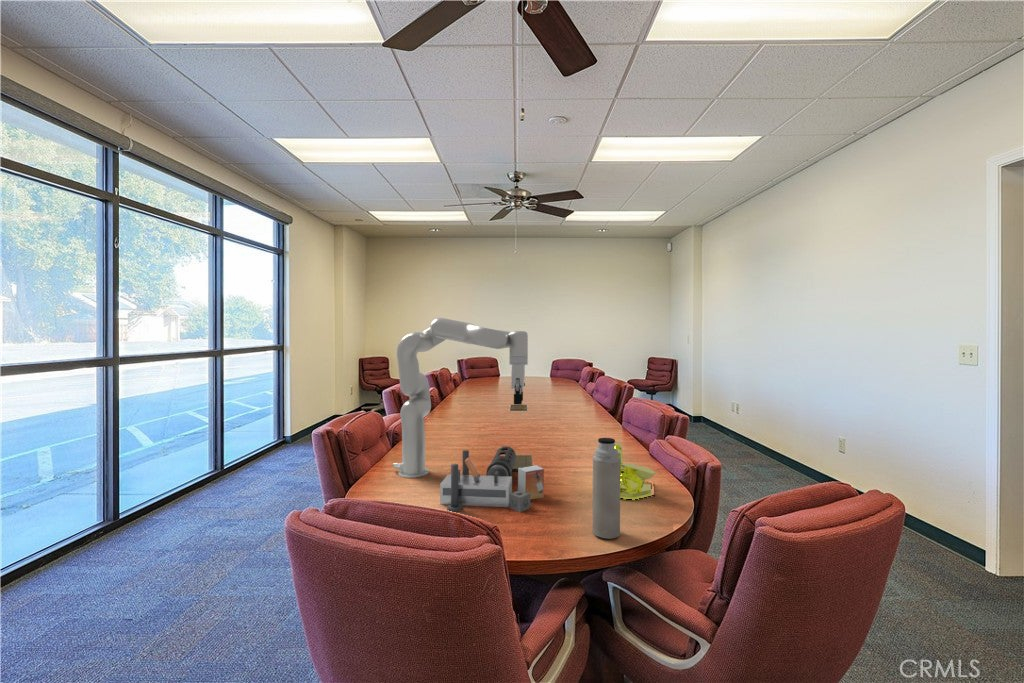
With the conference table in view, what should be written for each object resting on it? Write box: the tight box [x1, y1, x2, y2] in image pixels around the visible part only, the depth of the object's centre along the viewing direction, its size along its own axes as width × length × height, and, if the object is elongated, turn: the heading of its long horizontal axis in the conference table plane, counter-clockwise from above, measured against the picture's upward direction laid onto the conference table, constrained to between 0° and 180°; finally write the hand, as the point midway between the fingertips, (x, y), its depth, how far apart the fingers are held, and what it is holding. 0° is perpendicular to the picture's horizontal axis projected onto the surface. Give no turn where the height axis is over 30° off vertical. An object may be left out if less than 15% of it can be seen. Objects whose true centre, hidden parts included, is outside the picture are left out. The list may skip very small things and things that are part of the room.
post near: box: [446, 463, 463, 513], centre depth 148 cm, size 5×5×15 cm
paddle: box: [465, 457, 481, 482], centre depth 157 cm, size 2×4×8 cm, turn 174°
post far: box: [462, 449, 470, 475], centre depth 166 cm, size 5×5×15 cm
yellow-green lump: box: [614, 442, 657, 501], centre depth 169 cm, size 18×25×16 cm
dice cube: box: [509, 490, 531, 513], centre depth 149 cm, size 5×5×5 cm
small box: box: [517, 465, 545, 501], centre depth 159 cm, size 8×6×10 cm
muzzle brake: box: [485, 445, 517, 477], centre depth 180 cm, size 10×28×10 cm, turn 174°
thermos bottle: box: [592, 437, 621, 539], centre depth 130 cm, size 8×8×28 cm
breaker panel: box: [439, 469, 513, 508], centre depth 156 cm, size 24×11×10 cm, turn 84°
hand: (518, 402), depth 180 cm, fingers open, 9 cm apart
